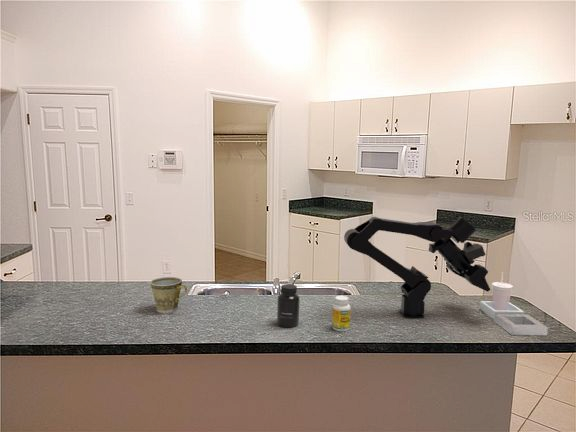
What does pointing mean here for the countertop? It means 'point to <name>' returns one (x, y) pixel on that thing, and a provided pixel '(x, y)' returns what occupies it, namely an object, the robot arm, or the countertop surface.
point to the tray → (489, 310)
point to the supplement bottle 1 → (288, 306)
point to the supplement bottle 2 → (341, 314)
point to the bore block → (514, 324)
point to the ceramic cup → (167, 293)
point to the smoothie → (501, 294)
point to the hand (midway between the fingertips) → (481, 286)
